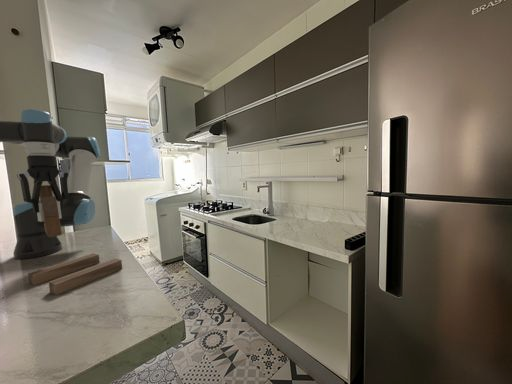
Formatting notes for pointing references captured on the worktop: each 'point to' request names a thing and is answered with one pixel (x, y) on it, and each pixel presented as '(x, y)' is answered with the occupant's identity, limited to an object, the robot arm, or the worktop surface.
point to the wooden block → (50, 211)
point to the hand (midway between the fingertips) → (50, 219)
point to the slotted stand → (77, 277)
